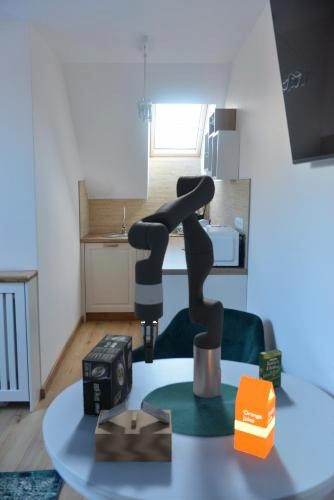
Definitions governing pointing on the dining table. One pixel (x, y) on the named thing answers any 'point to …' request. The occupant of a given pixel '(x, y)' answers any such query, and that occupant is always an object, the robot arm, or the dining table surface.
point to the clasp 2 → (155, 412)
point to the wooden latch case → (133, 438)
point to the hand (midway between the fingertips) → (149, 362)
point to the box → (107, 374)
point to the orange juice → (254, 416)
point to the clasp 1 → (113, 412)
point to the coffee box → (270, 367)
